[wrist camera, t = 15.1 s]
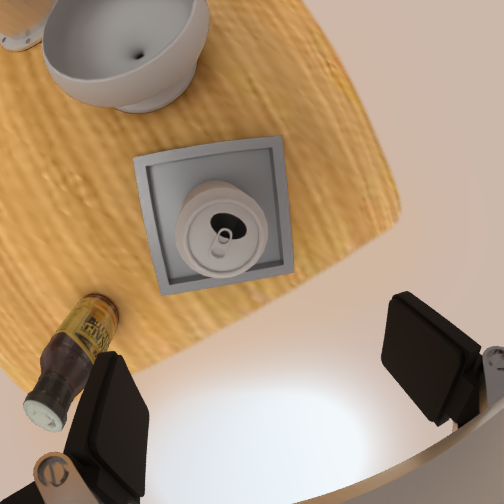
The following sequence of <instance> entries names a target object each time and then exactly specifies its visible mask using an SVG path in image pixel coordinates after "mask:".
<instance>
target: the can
mask: <svg viewBox="0 0 504 504" xmlns="http://www.w3.org/2000/svg"><path fill="white" fill-rule="evenodd" d="M175 239H176V246H177V248H178V251H179V253H180V255H181V257H182V259H183V260H184V261H185V262H186V263H187V264H188V266H189V267H190V268H191V269H193V270H195V271H196V272H198V273H200V274H202V275H203V276H207V277H212V278H217V279H219V278H231V277H234V276H237V275H239V274H242V273H244V272H246V271H247V270H248V269H249V268H251V267H252V266H253V265H254V264H256V262H257V261H258V259H259V258H260V257H261V255H262V254H263V252H264V249H265V246H266V243H267V240H268V224H267V221H266V218H265V215H264V212H263V210H262V209H261V208H260V206H259V205H258V204H257V202H256V201H255V200H254V199H253V198H251V197H250V196H248V195H247V194H245V193H244V192H243V191H241V190H240V189H238V188H237V187H235V186H234V185H232V184H231V183H229V182H225V181H221V180H208V181H206V182H203V183H200V184H198V185H197V186H195V187H194V188H193V189H192V190H191V191H189V193H188V195H187V196H186V198H185V199H184V201H183V204H182V207H181V210H180V213H179V216H178V219H177V224H176V228H175Z"/></svg>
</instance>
